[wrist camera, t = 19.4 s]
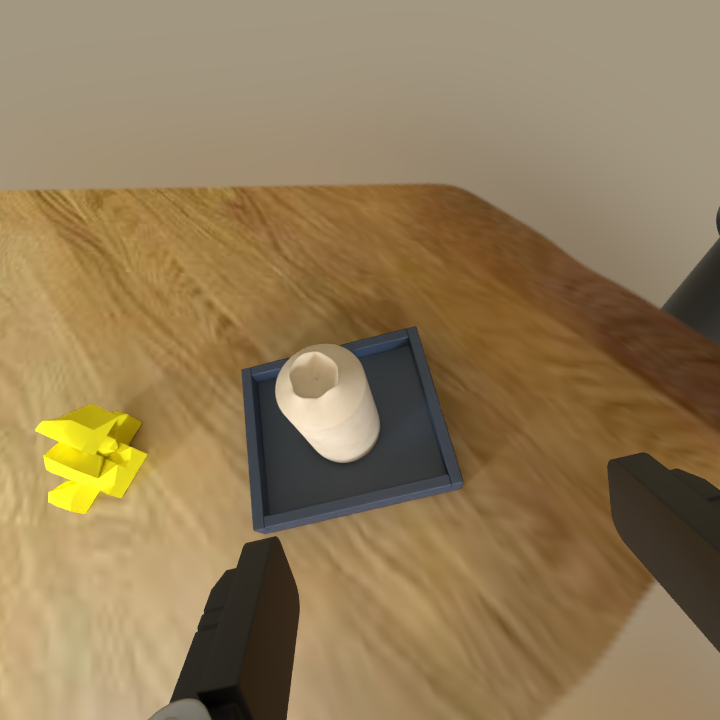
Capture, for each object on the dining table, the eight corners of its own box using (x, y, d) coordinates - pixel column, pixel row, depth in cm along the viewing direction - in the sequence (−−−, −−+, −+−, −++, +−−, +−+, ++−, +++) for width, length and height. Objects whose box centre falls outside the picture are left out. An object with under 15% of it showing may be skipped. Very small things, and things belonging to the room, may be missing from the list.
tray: (416, 339, 37) (415, 325, 35) (461, 488, 31) (463, 482, 29) (251, 380, 38) (241, 369, 36) (264, 534, 32) (253, 531, 30)
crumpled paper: (52, 496, 36) (-39, 476, 29) (110, 408, 39) (40, 371, 32) (105, 524, 34) (22, 510, 27) (161, 430, 37) (100, 396, 30)
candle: (395, 418, 33) (381, 360, 25) (352, 478, 32) (320, 439, 23) (339, 382, 35) (307, 316, 27) (296, 437, 34) (247, 386, 25)
